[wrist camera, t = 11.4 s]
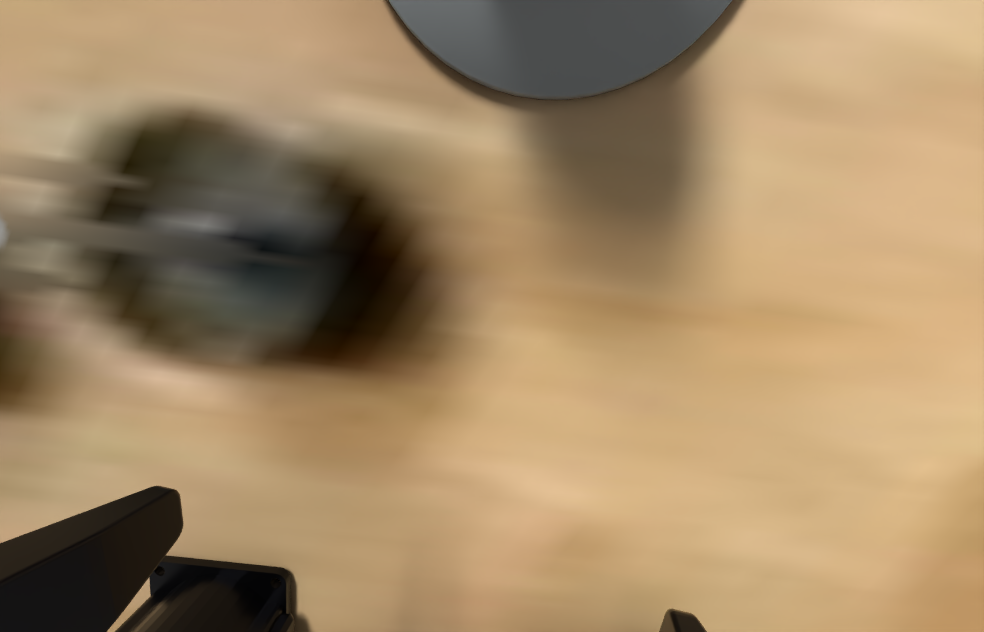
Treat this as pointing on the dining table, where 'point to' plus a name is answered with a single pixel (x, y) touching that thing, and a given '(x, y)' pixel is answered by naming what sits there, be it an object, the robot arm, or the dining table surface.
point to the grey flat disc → (557, 40)
